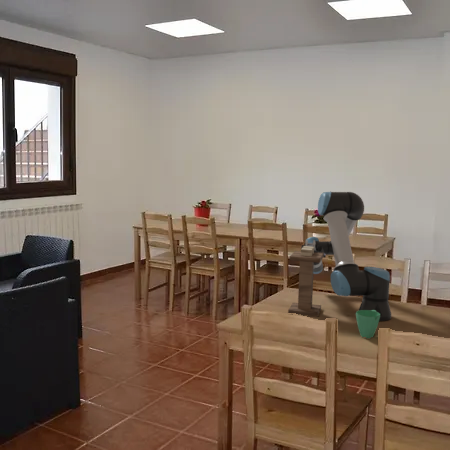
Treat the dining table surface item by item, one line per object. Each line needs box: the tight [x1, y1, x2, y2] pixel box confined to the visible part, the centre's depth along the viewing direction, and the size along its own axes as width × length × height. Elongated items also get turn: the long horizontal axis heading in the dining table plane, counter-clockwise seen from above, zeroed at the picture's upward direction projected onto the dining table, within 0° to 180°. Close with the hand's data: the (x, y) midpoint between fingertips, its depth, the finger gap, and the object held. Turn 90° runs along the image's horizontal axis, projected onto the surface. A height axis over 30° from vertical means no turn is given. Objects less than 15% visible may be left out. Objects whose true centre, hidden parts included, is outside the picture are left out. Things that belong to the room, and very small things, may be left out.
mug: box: [355, 309, 380, 339], centre depth 232 cm, size 15×10×10 cm
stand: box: [287, 250, 324, 318], centre depth 264 cm, size 16×14×28 cm
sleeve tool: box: [300, 243, 314, 256], centre depth 269 cm, size 22×5×3 cm, turn 164°
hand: (310, 242), depth 272 cm, fingers closed on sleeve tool, 3 cm apart
